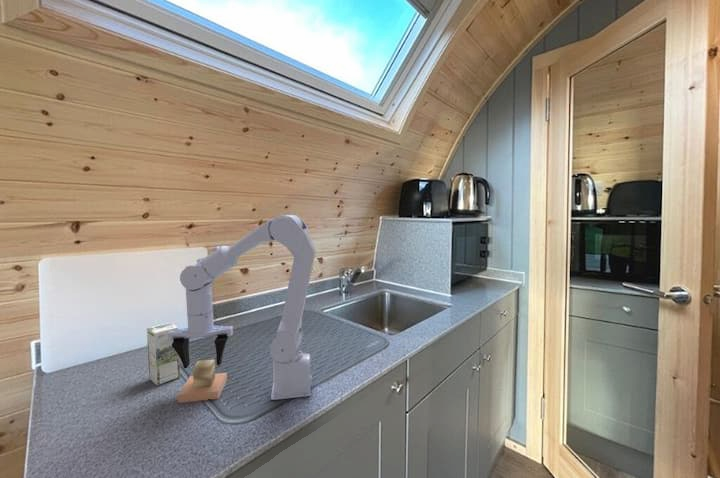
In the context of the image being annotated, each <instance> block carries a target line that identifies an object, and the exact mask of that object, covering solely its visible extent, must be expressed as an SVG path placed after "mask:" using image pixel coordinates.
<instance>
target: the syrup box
mask: <svg viewBox="0 0 720 478" xmlns="http://www.w3.org/2000/svg"><path fill="white" fill-rule="evenodd" d="M178 329H179V328H178V327H177V325H175V324H174V323H172V322H166V323H163V324H158V325H154V326H150V327H147V328H146V338H147V356H148V357H147V358H148V359H147V360H148V373H149V374H148V375H149V376H148V377H149V380H150V381H151V382H153V384H155V385H156V386H157V387H158V386H161V385H164V384H166V383H169V382H171V381H174V380H177V379H180V377H181V368H180V366H181V365H180V357H179V355H178V354H177V352H176V351H175V350H174V348H173V347H172V343H173V340H172V341H168V333H169V332H170V331H171V330H178Z"/></svg>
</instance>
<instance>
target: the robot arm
mask: <svg viewBox="0 0 720 478" xmlns="http://www.w3.org/2000/svg"><path fill="white" fill-rule="evenodd" d="M311 237H312V236H311V235H310V232H309V228H308V225H307V224H306V222H304V220H303V219H302V218H301V217H300V216H298V215H296V214H287V215H286V214H281V215H277V216H276V217H274V218H273V219H271V220H268V221H266V222H264V223H262V224H261V225H259V226H258V227H256V228H255V229H253V230H252V231H250V232H249V233H247V234H246V235H244V236H243V237H242V238H240V239H239V240H238V241H237V242H235V243H234V244H232V245H230V246H227V245H221V246H218V245H217V246H215V247H213V248H212V250H211V251H212V252H211V253H209V254H208V255H205V257H204V258H202V257H199V258H198V259H196V263H195V264H192V265H187V266H185V268H184V269H182V271H181V273H180V276H179V281H180V283H181V285H182V287H183V288H184V289H185V299H186V316H187V327H185V328H178V330H171V331H170V332H169V333H168V341H172V340H173V343H172V347H173V348H174V350H175V351H176V352H177V354H178V355H179V360H180V361H181V364H182V367H183V369H188V367H189V366H190V350H189V349H190V345H189V343H190V339H197V338H212V337H216V338H215V340H214V345H215V346H214V347H215V351H216V353H215V354H216V356H215V357H216V362H215V363H216V366H221V363H222V362H223V361H222V360H223V354H224V350H225V346H226V344H227V341H228V339H229V337H231V336H233V334H234V326H233V325H214V324H215V323H214V309H213V308H214V307H213V305H214V304H213V290H212V287H213V286H212V284H213V282H214V281H215V280H216V279H217V278H219V277H221V276H222V275H223V274H225V273H226V272H228V271H229V270H232V268H234V267H235V266H237V264H238V263H239V257H241V256H242V255H243V256H244V255H245V254H246V253H247V252H249V251H251V250H252V249H254V248H256V247H257V246H259V245H261V244H262V243H264V242H273V241H276V242H278V243H279V244H281V245H282V246H284V247H286V249H287V250H288V251H289V252H290V254H291V255H292V256H293V262H292V266H291V270H290V277H289V281H288V286H287V290H286V294H285V295H286V296H285V301H284V305H283V310H282V316H281V320H280V321H279V322H280V323H279V326H278V327H277V331H276V336H275V338H274V339H273V340H272V342H271V343H270V345H269V353H270V355H271V357H272V374H273V375H272V377H273V378H272V379H273V382H272V388H271V395H270V400H271V401H275V400H285V399H293V398H295V399H296V398H303V397H304V398H305V397H310V396H312V393H311V392H312V383H313V381H312V380H313V379H312V378H313V377H312V376H313V375H311V354H310V353H304V352H303V350H302V349H301V347H300V345H301V343H302V342H303V340H304V339H303V338H304V334H303V329H302V326H303V320H302V319H303V314H304V310H305V305H306V299H307V295H308V290H309V285H310V280H311V275H312V271H313V266H314V262H315V261H314V260H315V255H316V248H315V245H314V242H313V240H312V238H311Z"/></svg>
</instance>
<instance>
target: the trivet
mask: <svg viewBox="0 0 720 478" xmlns="http://www.w3.org/2000/svg"><path fill="white" fill-rule="evenodd" d="M227 380H228V373H227V372H218V373H216V372H215V380H214V382H213V384H212V386H209V387H198V388H194V382H193V375H190V376H189V378H188V379H187V380H186V382H185V383H184V384H183V386H182V388H181V389H180V391H179V392H178V394H177V403H178V404H179V403H188V402H199V401H209V400H208V399H211V400H217V399H218V398H220V396H221V394H222V392H223V389H224V387H225V385H226V383H227Z"/></svg>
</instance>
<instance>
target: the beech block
mask: <svg viewBox="0 0 720 478" xmlns="http://www.w3.org/2000/svg"><path fill="white" fill-rule="evenodd" d="M215 363H216V362H215V359H204V360H197V362H196V363H195V365H194V366H193V367H192V376H193V382H194V388H198V387H209V386H212V384H213V382H214V380H215V374H216V367H215V366H216V364H215Z"/></svg>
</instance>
